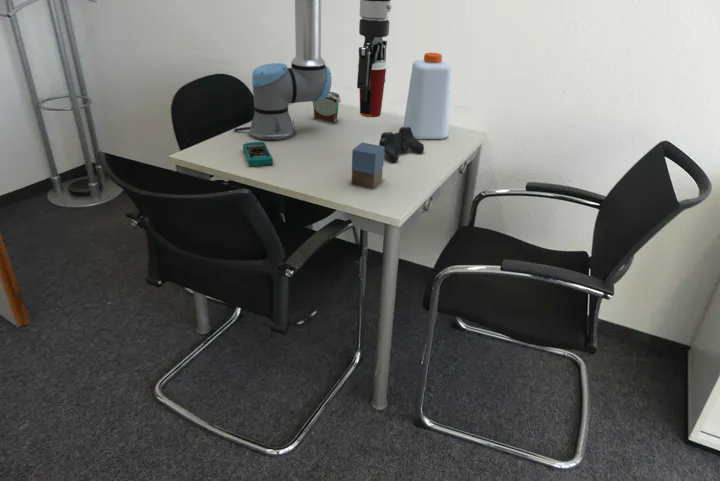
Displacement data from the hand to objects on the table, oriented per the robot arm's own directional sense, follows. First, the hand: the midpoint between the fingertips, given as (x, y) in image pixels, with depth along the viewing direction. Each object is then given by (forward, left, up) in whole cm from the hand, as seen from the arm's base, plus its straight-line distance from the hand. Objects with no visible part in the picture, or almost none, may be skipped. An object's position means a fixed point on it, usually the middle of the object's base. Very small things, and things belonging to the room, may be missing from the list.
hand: (370, 109), depth 142 cm
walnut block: (0, 0, -21) cm, 21 cm away
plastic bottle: (+2, +51, -22) cm, 55 cm away
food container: (-36, +48, -22) cm, 64 cm away
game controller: (+1, +26, -22) cm, 34 cm away
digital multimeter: (-38, +1, -22) cm, 44 cm away
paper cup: (0, 0, -1) cm, 1 cm away
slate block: (0, 0, -17) cm, 17 cm away
